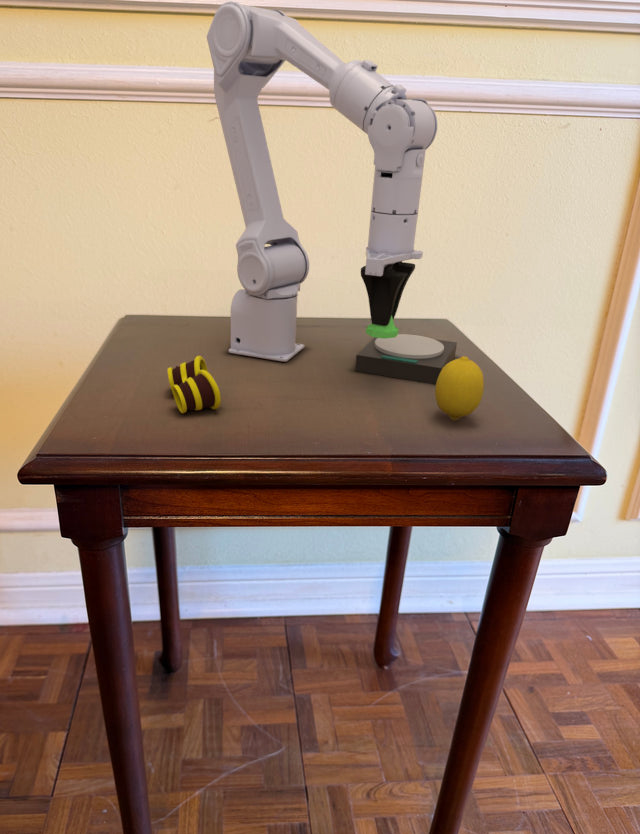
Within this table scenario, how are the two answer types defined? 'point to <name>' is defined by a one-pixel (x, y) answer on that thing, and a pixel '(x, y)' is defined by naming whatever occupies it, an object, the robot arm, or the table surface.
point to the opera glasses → (193, 386)
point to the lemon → (459, 388)
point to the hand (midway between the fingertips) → (382, 321)
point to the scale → (406, 357)
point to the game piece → (383, 330)
